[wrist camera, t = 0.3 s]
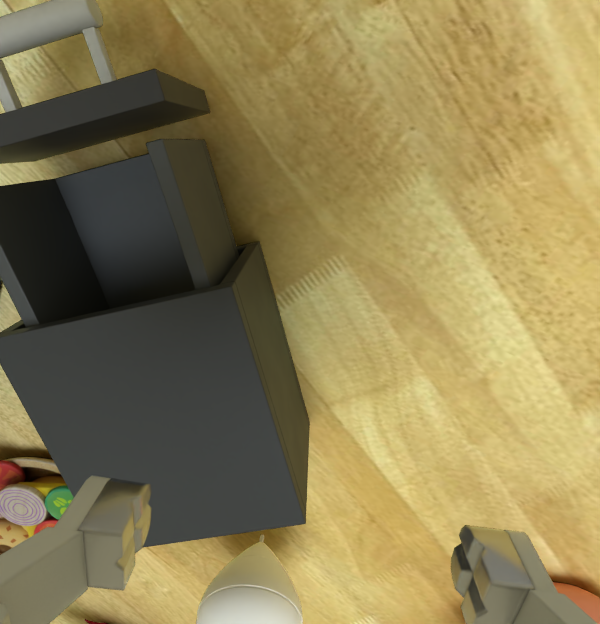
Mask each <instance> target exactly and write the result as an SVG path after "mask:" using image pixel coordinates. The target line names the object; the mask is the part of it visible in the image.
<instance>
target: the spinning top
mask: <svg viewBox="0 0 600 624" xmlns="http://www.w3.org/2000/svg"><path fill="white" fill-rule="evenodd" d="M263 542H264V535H263V534H262V535H260V540H259V542H258V543H256V544H254V545H252V546H250V547H249V548H247V549H246V550H244V551H243V552H242V553H240V554H239V555H238V556H237V557H235V558H234V559H233V560H232V561H231V562H229V563H228V564H227V565H226V566H225V567H224V568H223V569H222V570H221V571H220V572H219V574H218V575H217V576H216V577H215V578H214V579H213V581H212V582H211V583H210V585H209V586H208V588H207V589H206V591H205V593H204V595H203V597H202V599H201V602H200V605H199V608H198V612H197V620H196V624H303V619H302V608H301V603H300V599H299V596H298V594H297V591H296V589H295V587H294V584H293V582H292V580H291V578H290V576H289V574H288V572H287V571H286V570H285V568H284V566H283V565H282V564H281V562H280V561H279V559H278V558H277V556H276V555H275V554H274V553H273V551H272V550H271V549H270V548H269V547H268V546H267V545H266V544H265V543H263Z"/></svg>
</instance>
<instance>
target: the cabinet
mask: <svg viewBox="0 0 600 624" xmlns="http://www.w3.org/2000/svg"><path fill="white" fill-rule="evenodd" d="M237 250H238V253H239V258H238V259H237V261H236V262H235V263H234V265H233V266H232V268H231V269H230V271H229V272H228V273H227V275H226V276H225V278H224V279H223V280H222V282H221V283H220V285H216V286H211V287H207V288H202V289H198V290H193V291H189V292H184V293H180V294H175V295H171V296H166V297H162V298H157V299H153V300H148V301H144V302H139V303H135V304H130V305H126V306H121V307H117V308H112V309H108V310H103V311H99V312H94V313H90V314H85V315H81V316H76V317H72V318H67V319H63V320H58V321H54V322H49V323H45V324H40V325H36V326H31V327H27V328H26V326H25V324H24V323H23V321H22V320H20V321H19V322H17V323H15V324H14V325H12V326H10V327H9V328H7V329H5V330H4V331H2V332H0V364H1V366H2V368H3V370H4V372H5V373H6V375H7V377H8V379H9V381H10V382H11V384H12V386H13V388H14V390H15V392H16V393H17V395H18V397H19V399H20V401H21V403H22V404H23V406H24V408H25V410H26V412H27V413H28V415H29V417H30V419H31V421H32V423H33V424H34V426H35V428H36V430H37V432H38V433H39V435H40V437H41V439H42V441H43V443H44V444H45V446H46V448H47V450H48V452H49V454H50V455H51V457H52V459H53V461H54V463H55V464H56V466H57V468H58V470H59V472H60V474H61V475H62V477H63V479H64V481H65V483H66V485H67V486H68V488H69V490H70V492H71V494H72V495H73V497H75V496H76V494H77V493H78V491H79V490H80V488H81V487H82V485H83V484H84V483H85V481H86V480H87V479H88V478H89V477H91V476H92V475H93V476H99V477H106V478H114V479H121V480H127V481H133V482H140V483H146V484H150V485H151V497H150V499H149V502H148V505H149V506H150V507H151V508H152V512H151V523H150V527H149V531H148V535H147V538H146V540H145V543H144V545H143V547H149V546H156V545H163V544H170V543H176V542H183V541H190V540H197V539H204V538H211V537H218V536H225V535H232V534H239V533H246V532H253V531H260V530H266V529H273V528H280V527H287V526H294V525H301V524H305V523H306V501H307V476H308V450H309V425H310V422H309V418H308V415H307V411H306V407H305V404H304V400H303V397H302V393H301V389H300V386H299V382H298V379H297V375H296V371H295V368H294V364H293V360H292V357H291V353H290V350H289V346H288V342H287V339H286V335H285V331H284V328H283V324H282V321H281V317H280V313H279V310H278V306H277V303H276V299H275V295H274V292H273V288H272V284H271V281H270V277H269V274H268V270H267V266H266V263H265V259H264V255H263V252H262V248H261V245H260V242H259V241H258V242H254V243H249V244H245V245H241V246H237Z"/></svg>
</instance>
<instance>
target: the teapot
mask: <svg viewBox="0 0 600 624" xmlns="http://www.w3.org/2000/svg"><path fill="white" fill-rule="evenodd" d="M553 584H554V586H555V588H556V590H557V591H558V593H561V594H565V595H566V596H567V597H568V598H569V599H571V600H572V601H573V602H574V603H575V604H576V605H577V606H578V607H580V608H581V609H582V610H583V611H584V612H585V613H586V614H587V615H589V616H590V617H591V618H592V619H593V620H594V621H595V622H597V623H598V624H600V598H599V597H597V596H596V595H594V594H592V593H590V592H588V591H586V590H584V589H581V588H579V587H577V586H573V585H570V584H564V583H557V582H553Z"/></svg>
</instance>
